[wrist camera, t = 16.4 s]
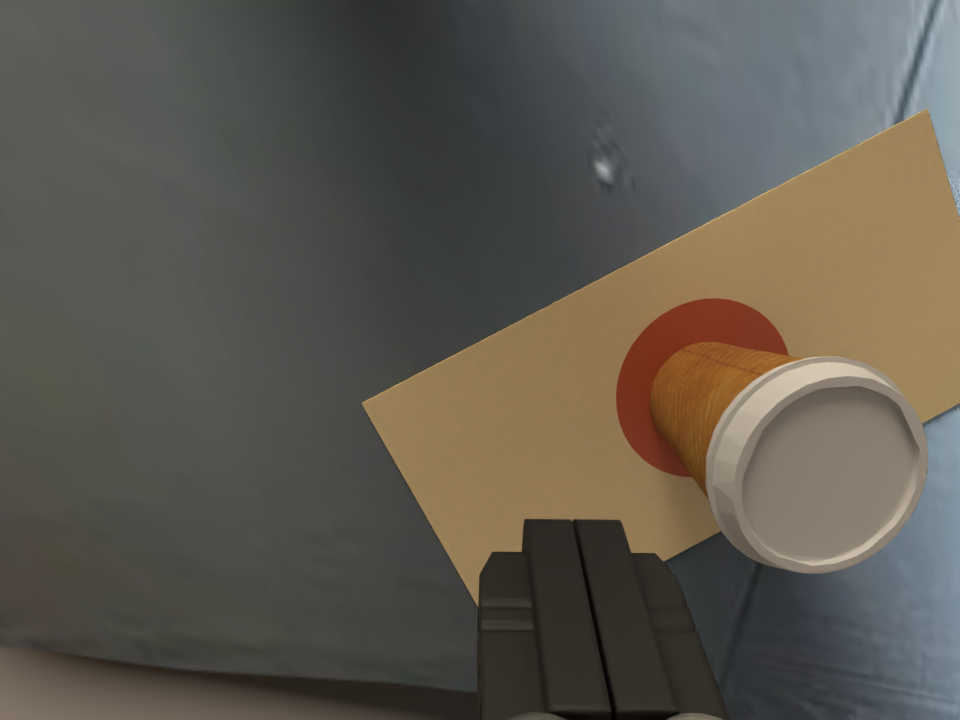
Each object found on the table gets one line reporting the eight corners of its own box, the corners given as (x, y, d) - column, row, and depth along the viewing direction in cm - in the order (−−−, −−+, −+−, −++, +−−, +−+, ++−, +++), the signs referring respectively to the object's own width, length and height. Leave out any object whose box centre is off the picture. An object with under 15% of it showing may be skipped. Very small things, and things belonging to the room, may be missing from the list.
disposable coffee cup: (776, 468, 44) (925, 571, 32) (619, 482, 42) (716, 595, 31) (787, 307, 41) (952, 355, 30) (622, 317, 40) (727, 372, 28)
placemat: (361, 403, 39) (361, 403, 39) (926, 108, 40) (928, 108, 40) (501, 647, 44) (501, 648, 44) (1004, 378, 45) (1006, 378, 45)
